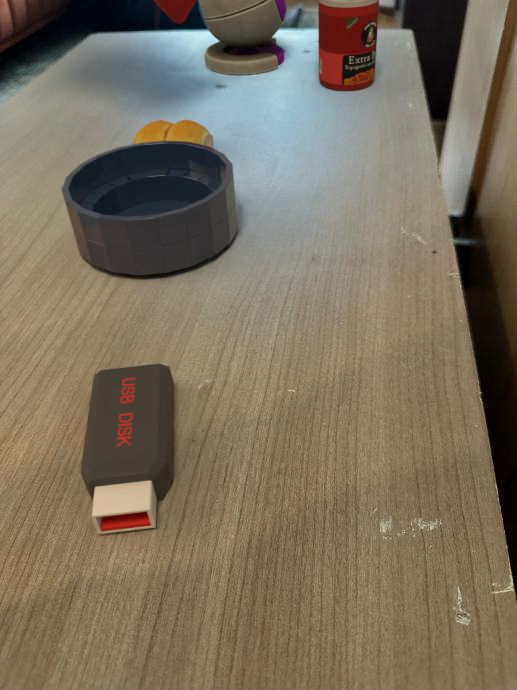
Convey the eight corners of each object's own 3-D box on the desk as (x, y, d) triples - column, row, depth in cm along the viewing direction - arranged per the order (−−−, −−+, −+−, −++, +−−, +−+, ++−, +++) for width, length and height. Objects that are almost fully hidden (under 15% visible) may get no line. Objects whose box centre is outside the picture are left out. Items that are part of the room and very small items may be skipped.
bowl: (93, 298, 54) (76, 236, 50) (68, 216, 65) (52, 160, 61) (261, 254, 58) (257, 193, 54) (210, 183, 69) (203, 129, 65)
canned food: (348, 96, 85) (351, 5, 78) (306, 82, 90) (305, -5, 83) (386, 80, 89) (392, -9, 82) (344, 68, 94) (346, -17, 87)
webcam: (289, 72, 94) (285, -47, 84) (202, 77, 94) (188, -40, 85) (287, 45, 104) (283, -64, 94) (208, 50, 104) (196, -58, 94)
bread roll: (150, 140, 78) (144, 107, 76) (220, 144, 76) (216, 110, 74) (122, 171, 72) (115, 136, 70) (198, 175, 70) (193, 140, 68)
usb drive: (173, 382, 46) (167, 354, 44) (173, 528, 37) (165, 499, 35) (100, 390, 46) (91, 362, 44) (82, 538, 37) (70, 510, 35)
